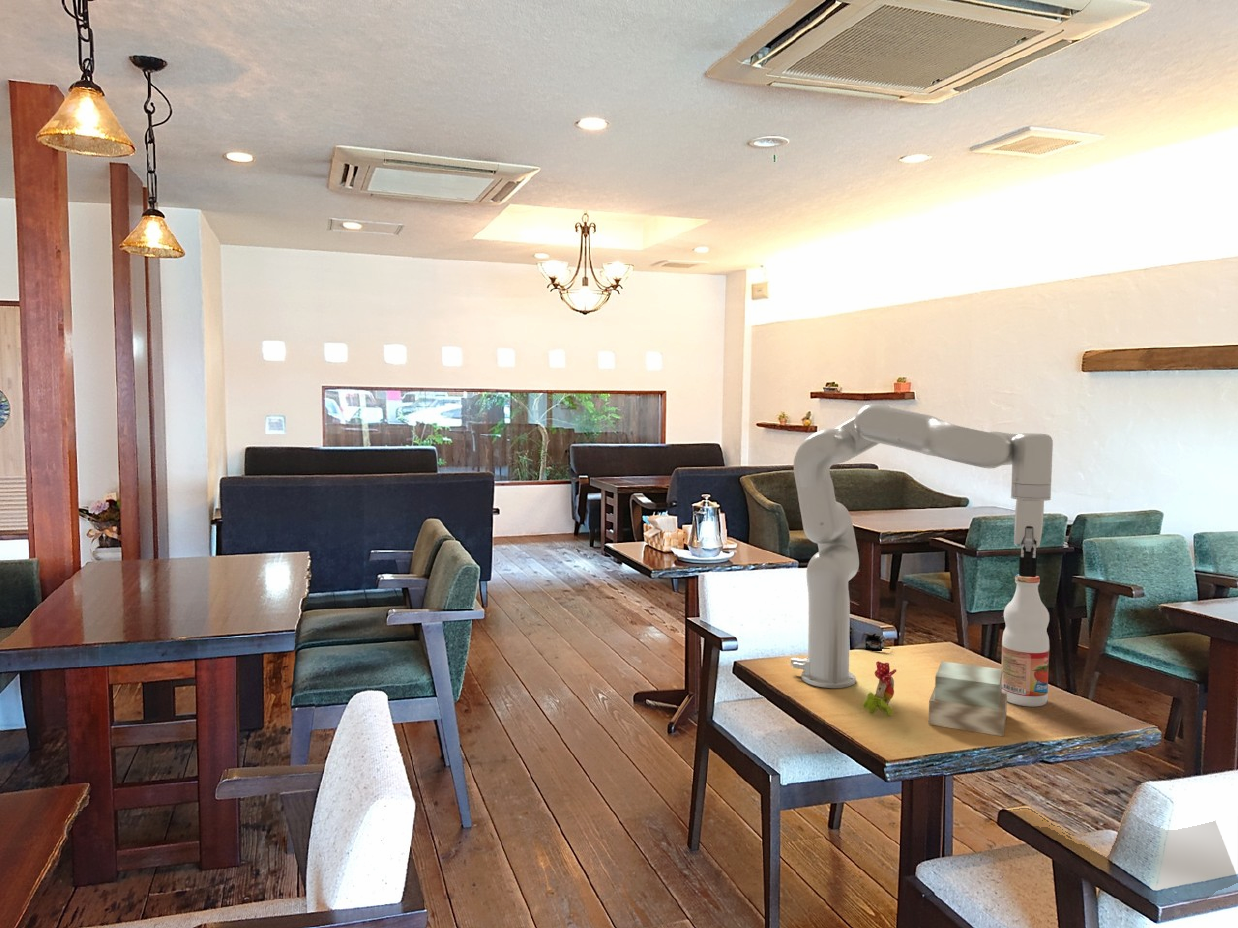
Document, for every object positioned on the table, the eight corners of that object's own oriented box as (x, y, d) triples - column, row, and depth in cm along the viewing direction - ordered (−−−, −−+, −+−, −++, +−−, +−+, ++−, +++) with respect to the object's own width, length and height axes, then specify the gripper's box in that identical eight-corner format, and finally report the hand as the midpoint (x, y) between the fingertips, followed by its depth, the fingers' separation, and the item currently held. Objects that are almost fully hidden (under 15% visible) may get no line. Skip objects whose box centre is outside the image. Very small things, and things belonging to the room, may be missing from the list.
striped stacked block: (928, 724, 173) (929, 676, 172) (936, 704, 184) (937, 659, 184) (1003, 736, 166) (1004, 686, 166) (1006, 714, 178) (1007, 668, 177)
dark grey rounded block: (847, 650, 227) (848, 633, 227) (856, 643, 233) (856, 627, 233) (894, 657, 220) (894, 640, 220) (901, 650, 226) (902, 634, 226)
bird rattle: (869, 714, 184) (858, 709, 177) (876, 663, 187) (865, 657, 180) (898, 720, 181) (888, 715, 174) (905, 668, 184) (895, 662, 177)
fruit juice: (1000, 690, 193) (1004, 570, 191) (1046, 696, 189) (1050, 573, 187) (1000, 703, 184) (1003, 578, 183) (1048, 710, 181) (1052, 581, 179)
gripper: (1012, 487, 186) (1009, 563, 187) (1009, 495, 171) (1006, 578, 172) (1050, 489, 183) (1047, 566, 184) (1051, 497, 167) (1047, 581, 169)
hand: (1027, 572), depth 178 cm, fingers open, 9 cm apart
